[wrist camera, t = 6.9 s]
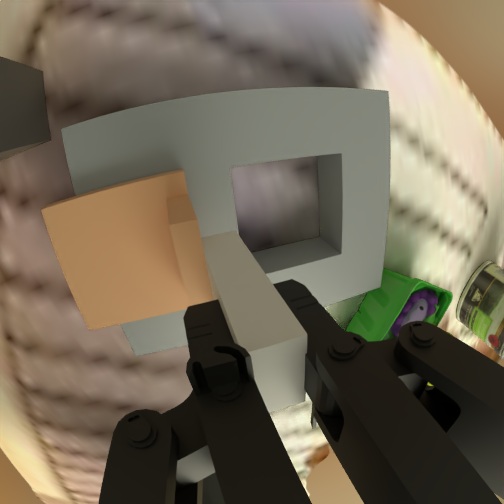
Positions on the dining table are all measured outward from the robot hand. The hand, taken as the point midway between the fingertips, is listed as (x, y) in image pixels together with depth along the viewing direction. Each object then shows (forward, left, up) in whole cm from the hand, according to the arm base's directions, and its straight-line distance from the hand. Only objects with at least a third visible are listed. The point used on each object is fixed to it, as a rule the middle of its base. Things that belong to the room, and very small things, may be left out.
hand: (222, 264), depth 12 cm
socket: (0, -3, -6) cm, 7 cm away
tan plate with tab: (0, +4, -3) cm, 5 cm away
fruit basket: (-13, -15, -7) cm, 21 cm away
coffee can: (-18, -36, -7) cm, 41 cm away
